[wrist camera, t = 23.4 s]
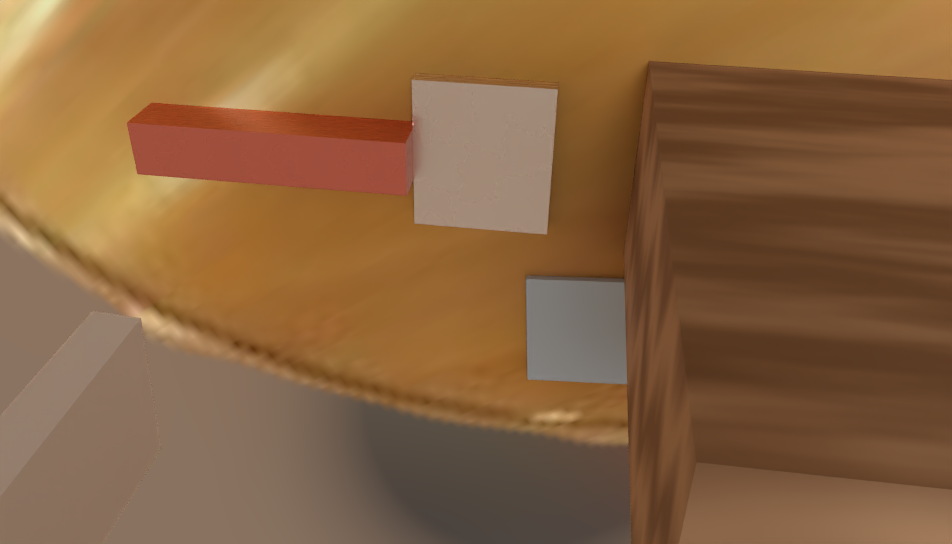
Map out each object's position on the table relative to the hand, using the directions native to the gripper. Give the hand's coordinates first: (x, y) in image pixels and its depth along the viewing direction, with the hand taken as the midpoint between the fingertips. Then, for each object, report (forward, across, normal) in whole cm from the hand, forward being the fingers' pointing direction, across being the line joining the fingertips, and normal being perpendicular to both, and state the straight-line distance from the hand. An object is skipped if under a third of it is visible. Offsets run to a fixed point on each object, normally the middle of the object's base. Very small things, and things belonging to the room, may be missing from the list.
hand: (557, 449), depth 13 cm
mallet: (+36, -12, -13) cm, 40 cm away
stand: (+36, +12, -11) cm, 39 cm away
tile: (+36, +3, -24) cm, 44 cm away
